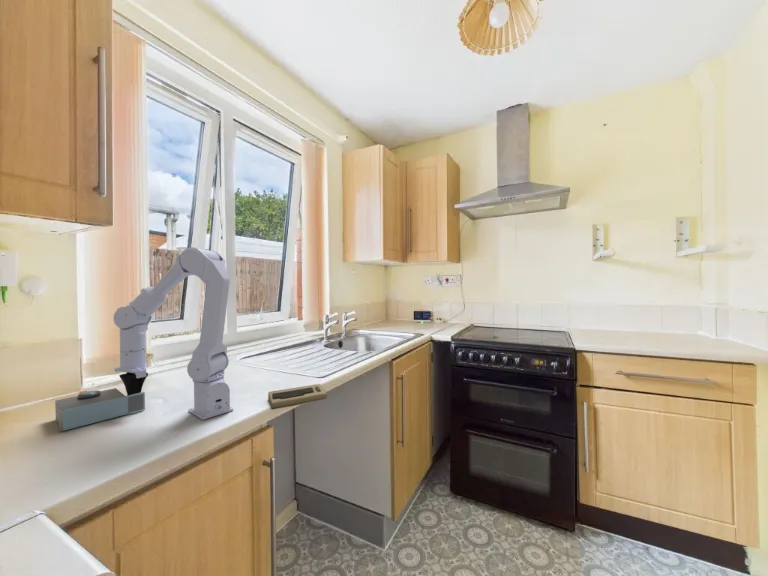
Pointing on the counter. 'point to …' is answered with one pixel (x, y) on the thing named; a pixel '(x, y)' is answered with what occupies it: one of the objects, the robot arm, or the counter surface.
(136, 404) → the side door
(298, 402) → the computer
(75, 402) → the camera body
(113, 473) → the counter surface
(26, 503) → the counter surface
